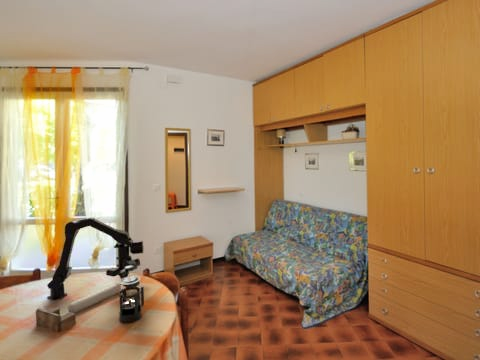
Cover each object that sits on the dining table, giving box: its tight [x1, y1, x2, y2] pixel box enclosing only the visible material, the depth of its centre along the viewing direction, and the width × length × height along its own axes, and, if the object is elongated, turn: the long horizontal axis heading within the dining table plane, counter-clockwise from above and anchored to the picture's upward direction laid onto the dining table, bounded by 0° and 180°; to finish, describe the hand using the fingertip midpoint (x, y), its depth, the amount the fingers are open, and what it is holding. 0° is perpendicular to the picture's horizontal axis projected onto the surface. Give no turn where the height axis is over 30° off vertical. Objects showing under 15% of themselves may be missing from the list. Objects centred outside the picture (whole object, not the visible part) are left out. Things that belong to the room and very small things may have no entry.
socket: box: [35, 307, 77, 333], centre depth 113 cm, size 14×8×7 cm, turn 67°
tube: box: [67, 282, 122, 314], centre depth 131 cm, size 5×5×25 cm
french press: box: [118, 265, 145, 325], centre depth 117 cm, size 12×9×23 cm
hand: (124, 282), depth 147 cm, fingers closed
